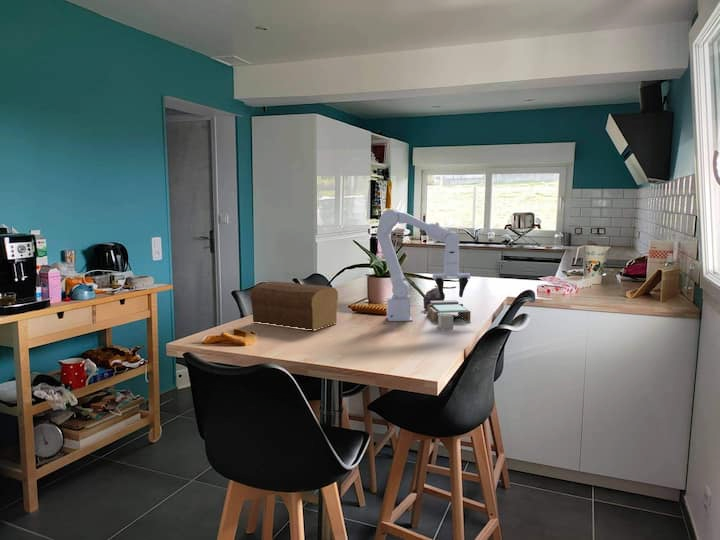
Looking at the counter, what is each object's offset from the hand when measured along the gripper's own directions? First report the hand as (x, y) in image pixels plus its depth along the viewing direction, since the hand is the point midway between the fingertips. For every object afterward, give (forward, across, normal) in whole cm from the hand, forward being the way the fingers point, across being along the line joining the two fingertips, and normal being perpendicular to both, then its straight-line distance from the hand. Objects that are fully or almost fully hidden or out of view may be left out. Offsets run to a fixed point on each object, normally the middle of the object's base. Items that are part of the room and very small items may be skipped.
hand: (451, 297), depth 212 cm
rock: (+10, -1, +25) cm, 27 cm away
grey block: (+7, -5, -12) cm, 15 cm away
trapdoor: (+6, 0, +5) cm, 8 cm away
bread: (+10, -61, +3) cm, 62 cm away
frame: (+9, 0, +4) cm, 10 cm away
